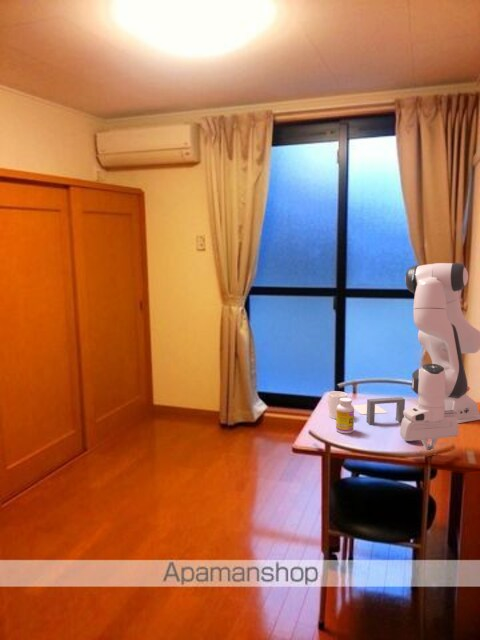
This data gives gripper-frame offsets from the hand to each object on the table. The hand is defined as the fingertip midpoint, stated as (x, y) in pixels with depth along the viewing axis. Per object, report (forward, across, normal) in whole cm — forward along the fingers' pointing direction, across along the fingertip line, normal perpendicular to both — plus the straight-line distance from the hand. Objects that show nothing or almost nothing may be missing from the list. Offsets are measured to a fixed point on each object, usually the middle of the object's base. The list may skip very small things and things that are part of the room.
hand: (428, 450), depth 171 cm
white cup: (+2, +17, -42) cm, 45 cm away
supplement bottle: (+2, +20, -26) cm, 33 cm away
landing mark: (+2, 0, -48) cm, 48 cm away
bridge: (+2, 0, -32) cm, 32 cm away
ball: (-2, 0, -12) cm, 12 cm away
